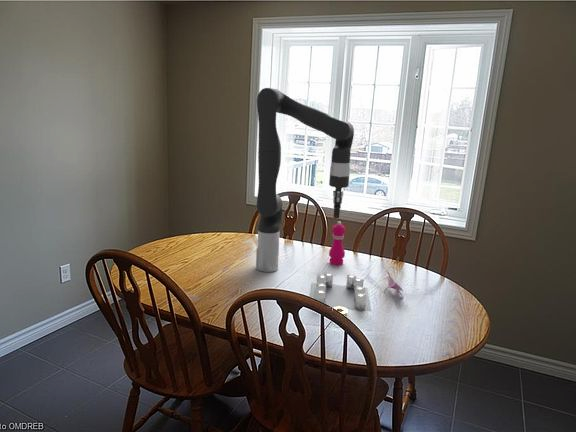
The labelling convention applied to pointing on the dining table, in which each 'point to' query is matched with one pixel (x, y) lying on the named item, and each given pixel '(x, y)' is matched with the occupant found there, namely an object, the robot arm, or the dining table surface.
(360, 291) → the spacers
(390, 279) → the lily
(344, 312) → the nut
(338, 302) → the board
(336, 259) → the pepper mill
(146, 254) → the dining table surface
